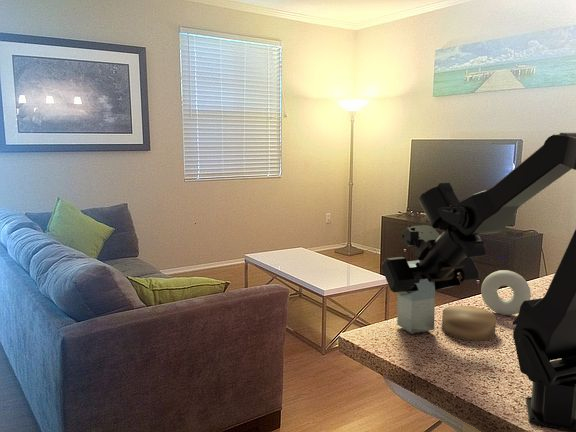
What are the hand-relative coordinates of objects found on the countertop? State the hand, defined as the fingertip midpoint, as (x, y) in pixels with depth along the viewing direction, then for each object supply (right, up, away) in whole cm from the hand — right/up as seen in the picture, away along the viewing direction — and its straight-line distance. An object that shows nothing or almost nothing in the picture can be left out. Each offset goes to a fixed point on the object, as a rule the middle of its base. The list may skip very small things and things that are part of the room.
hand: (411, 291), depth 96 cm
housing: (+1, -7, 0) cm, 7 cm away
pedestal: (+11, -8, 0) cm, 14 cm away
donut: (+23, -7, +9) cm, 25 cm away
